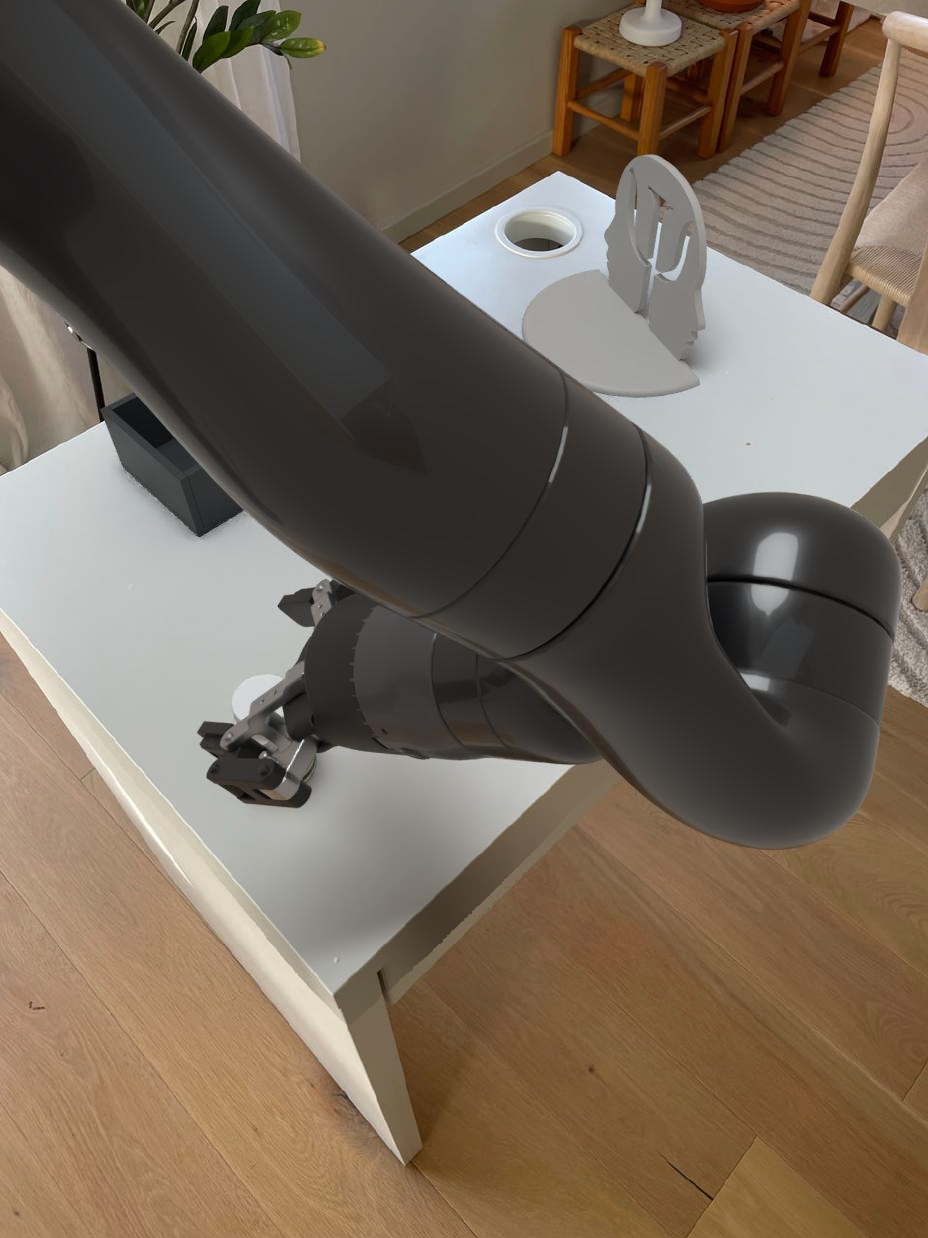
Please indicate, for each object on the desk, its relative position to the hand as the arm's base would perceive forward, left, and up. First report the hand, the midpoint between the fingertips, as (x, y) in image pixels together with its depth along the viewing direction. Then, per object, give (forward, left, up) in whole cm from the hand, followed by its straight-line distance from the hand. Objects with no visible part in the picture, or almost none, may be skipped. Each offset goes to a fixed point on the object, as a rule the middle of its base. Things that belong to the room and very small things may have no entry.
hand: (253, 672), depth 54 cm
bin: (+8, +34, -15) cm, 38 cm away
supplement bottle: (+1, +3, -15) cm, 16 cm away
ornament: (+48, +32, -15) cm, 60 cm away
